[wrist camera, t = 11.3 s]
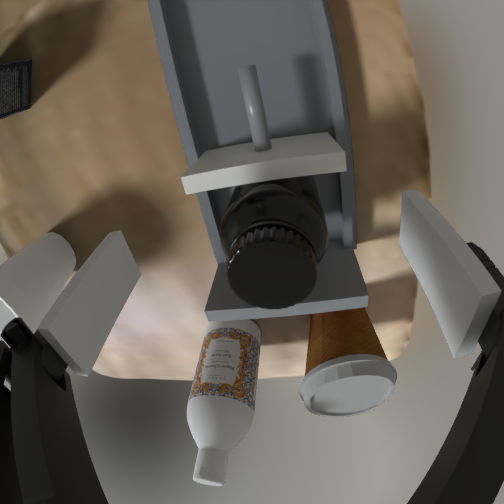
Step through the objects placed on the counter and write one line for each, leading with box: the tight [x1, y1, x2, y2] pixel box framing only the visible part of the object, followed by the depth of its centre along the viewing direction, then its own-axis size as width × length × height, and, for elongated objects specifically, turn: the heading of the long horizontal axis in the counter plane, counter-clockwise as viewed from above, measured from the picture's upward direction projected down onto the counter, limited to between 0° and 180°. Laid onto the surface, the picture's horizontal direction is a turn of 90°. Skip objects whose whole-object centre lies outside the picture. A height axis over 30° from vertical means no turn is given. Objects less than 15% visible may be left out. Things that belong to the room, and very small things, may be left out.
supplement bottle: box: [220, 175, 328, 310], centre depth 20 cm, size 7×7×12 cm
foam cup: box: [0, 232, 76, 334], centre depth 27 cm, size 10×9×13 cm
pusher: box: [181, 65, 347, 195], centre depth 18 cm, size 7×10×7 cm
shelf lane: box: [148, 0, 369, 322], centre depth 17 cm, size 34×14×9 cm, turn 11°
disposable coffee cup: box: [299, 307, 397, 418], centre depth 28 cm, size 10×10×12 cm
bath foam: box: [187, 319, 261, 486], centre depth 28 cm, size 7×7×20 cm
